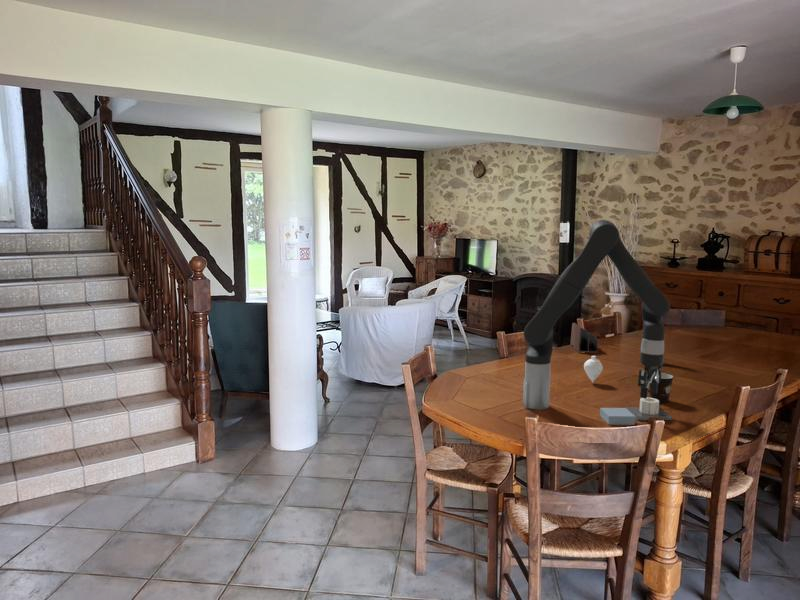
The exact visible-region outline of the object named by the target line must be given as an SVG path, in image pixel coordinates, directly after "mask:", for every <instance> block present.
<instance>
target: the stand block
mask: <svg viewBox="0 0 800 600" xmlns="http://www.w3.org/2000/svg"><path fill="white" fill-rule="evenodd" d="M599 409H600V410H599V416H600V418H601V419H602V420H603V421H604V422H605V423H606V424H607V425H609V426H610V425H611V426H612V425H613V426H615V425H616V426H621V425H622V426H635V425H636V419H635V416H634V415H633V414H632V413H631V412H630V411H628V410H627V407H599Z"/></svg>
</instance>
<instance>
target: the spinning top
mask: <svg viewBox="0 0 800 600" xmlns="http://www.w3.org/2000/svg"><path fill="white" fill-rule="evenodd" d="M590 357H591V358H589V359H587V360H586V361H585V362H584V364H583V369H584V371H585V373H586V375H587V377H588V378H589V380H590V381H591V383H592V384H594V381H595V380H596V379H597V378H598V377H599V376H600V374H601V373H602V371H603V368H604V367H603V364H602V362H601V361H600V360H599V359H597V355H591V356H590Z"/></svg>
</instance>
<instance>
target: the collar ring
mask: <svg viewBox="0 0 800 600" xmlns="http://www.w3.org/2000/svg"><path fill="white" fill-rule="evenodd" d="M639 407H640V409H639V411H640V412H641V413H644V414H650V415H655V414H658V413H659V407H660V403H659V400H657V399H655V398H650V397H648V396H647V398H646V399H645V398H641V397H640V399H639Z"/></svg>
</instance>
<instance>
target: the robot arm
mask: <svg viewBox="0 0 800 600" xmlns="http://www.w3.org/2000/svg"><path fill="white" fill-rule="evenodd" d="M616 226H617V225H615V224H614V223H613V222H612V221H610V220H608V219H607V220H605V219H600V220H596V221H595V222H594V223H593V224H592V225H591V226H590V230H589V238H588V240H587V242H586V244H585V246H584V248H583V249H582V251H581V252H580V254H579V255H578V256H577V257H576V258H575V259H574V260H573V261H572V262H571V263H570V264H569V265H568V266H567V267H566V268H565V269H564V270H563V272H562V273H561V274H560V276H559V277H558V279H556V282H555V283H554V285H553V287H552V288H551V290H550V291H549V293H548V295H547V297H546V298H545V300H544V302H543V304H542V306H541V307H540V309H538V311H537V312H536V313H535V314H534V316H533V317H532V318H531V319H530V321H529V322H528V323H527V324H526V325H525V327H524V330H523V338H524V340H525V341H526V343H527V344H528V346H527V350H526V353H525V360H524V361H525V362H524V379H523V380H522V381H523V382H522V384H523V385H522V386H523V387H522V405H523V406H524V408H525V409H531V410H538V411H539V410H540V411H541V410H546V409H548V408H549V407H550V383H551V362H552V361H551V358H552V354H553V348H554V347H553V346H554V327H555V324H556V322H557V321H558V320H559V319H560V318H561V317H562V315H564V313H565V312H566V311H567V310H568V309H569V308H570V307H571V306H572V305H573V304H574V303H575V301H576V300H577V299H578V298H579V296H580V295H581V294H582V293H583V291H584V289H585V288H586V287H587V285H588V283H589V282H590V280H591V278H592V277H593V275H594V273H595V272H596V270H597V268H598V267H599V266H600V264H601V263H602V261H603V260H604V259H605V258H606V257H608V258H609V259H610V260H611V262H612V263H613V264H614V266H615V268H616V269H617V271H618V273H619V274H620V276H621V277H622V279H623V280H624V282H625V284H627V286H628V287H629V289H630V290H631V292H633V294H634V295H635V296H636V297H638V298H639V299H640V300H641V301H642V303H641V318H642V323H643V328H642V339H641V344H640V353H639V354H640V356H639V363H640V364H641V365H643V369H639V371H638V381H637V387H640V395H639V397H640V399H641V398H645V399H646V398H647V397H648V393H649V392H648V390H649V391H650V392H651V393H654V394H656V393H657V387H658V384H657V383H659V381H661V373H663V372H662V369H663V365H664V364H663V363H664V362H663V357H664V354H665V339H664V337H665V332H666V331H665V330H666V328H665V324H664V323H663V322H662V317H665V316H666V315H668V313H669V312H670V309H671V305H670V302H669V300H668V298H667V297H666V296H665V294H664V293H663V292H662V291H661V290H659V289H658V287H657V286H655V284H654V283H653V281H652V280H651V278H650V277H649V276H648V275H647V273H646V272H645V270H644V269H643V268H642V267H641V266H640V264H639V263H638V262H637V260H636V259H635V258H634V257H633V256H632V254H631V253H630V252H629V251H628V249H627V248H626V246H625V245H624V243H623V241H622V240H621V238H620V232H619V229H618V227H616ZM646 383H647V384H646ZM650 383H651V387H650V385H649V384H650Z"/></svg>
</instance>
